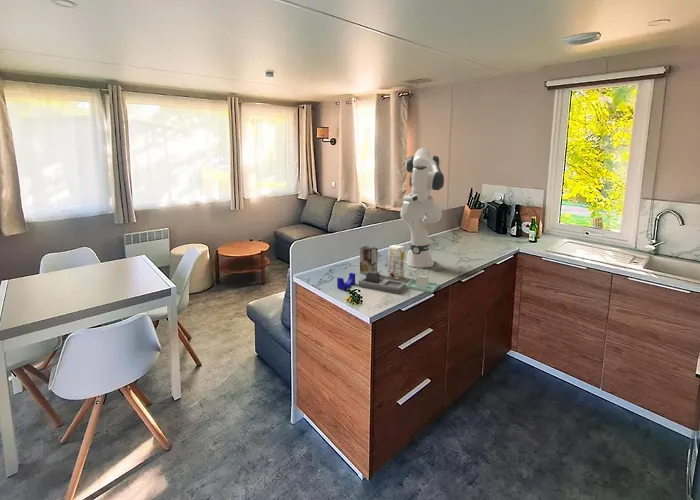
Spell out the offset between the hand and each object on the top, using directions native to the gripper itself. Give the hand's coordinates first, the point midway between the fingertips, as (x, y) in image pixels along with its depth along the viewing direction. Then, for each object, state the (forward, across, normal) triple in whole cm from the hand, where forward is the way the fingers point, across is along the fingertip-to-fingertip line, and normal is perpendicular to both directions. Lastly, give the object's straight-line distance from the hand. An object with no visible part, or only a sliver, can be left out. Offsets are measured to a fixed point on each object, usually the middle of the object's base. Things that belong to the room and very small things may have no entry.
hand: (417, 222), depth 210 cm
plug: (+35, +1, +6) cm, 35 cm away
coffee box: (+35, +11, -29) cm, 47 cm away
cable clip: (+36, +34, -17) cm, 52 cm away
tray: (+35, +1, +6) cm, 36 cm away
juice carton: (+35, +2, -14) cm, 38 cm away
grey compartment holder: (+35, +20, -5) cm, 41 cm away
